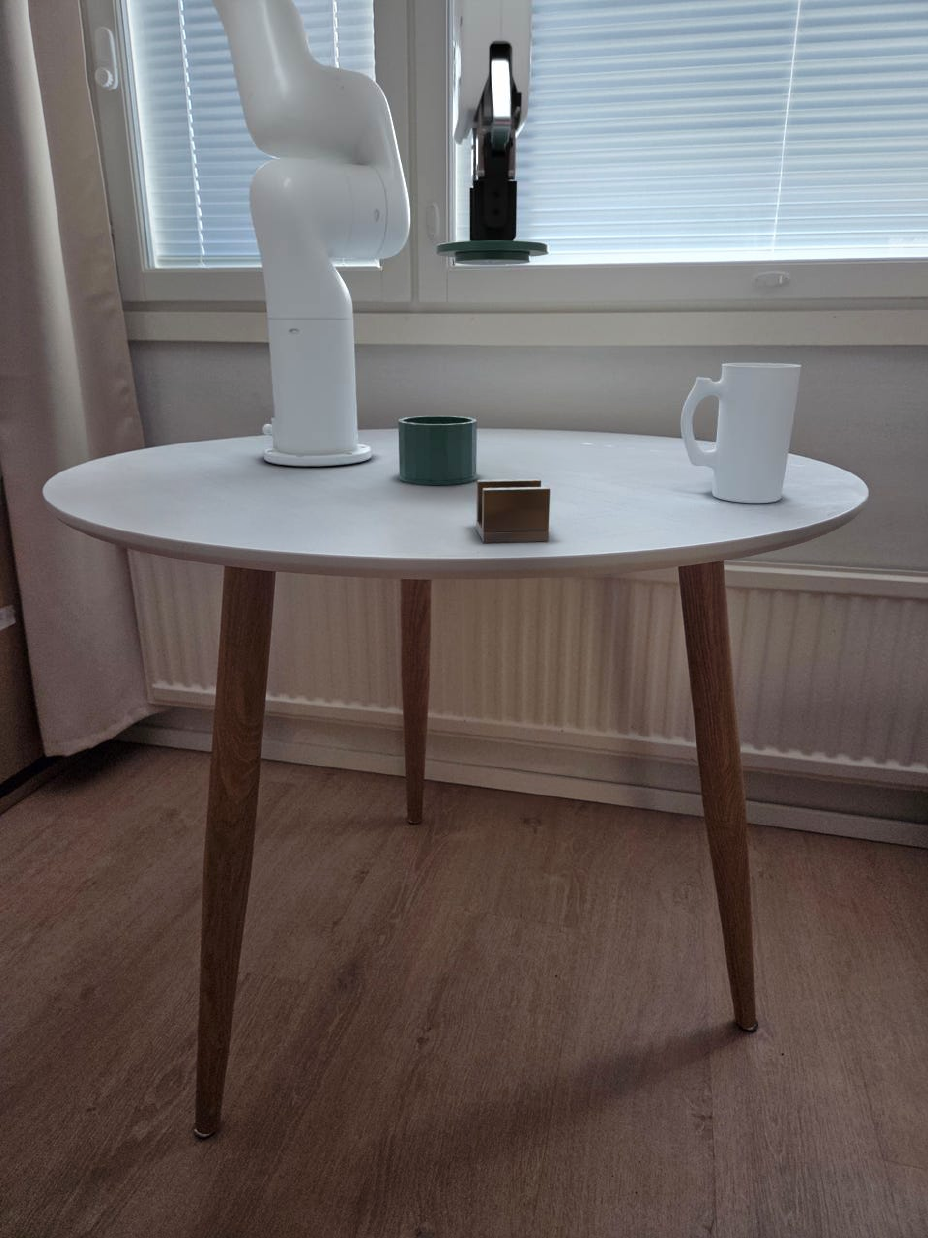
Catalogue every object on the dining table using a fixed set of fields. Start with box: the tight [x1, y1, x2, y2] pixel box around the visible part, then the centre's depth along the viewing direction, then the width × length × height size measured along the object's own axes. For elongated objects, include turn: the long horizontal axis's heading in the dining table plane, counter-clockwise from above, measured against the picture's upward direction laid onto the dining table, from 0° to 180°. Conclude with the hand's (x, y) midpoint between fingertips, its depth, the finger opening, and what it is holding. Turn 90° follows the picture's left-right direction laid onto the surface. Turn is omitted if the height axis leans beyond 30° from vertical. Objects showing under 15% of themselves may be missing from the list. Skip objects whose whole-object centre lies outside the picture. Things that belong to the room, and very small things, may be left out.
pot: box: [397, 415, 478, 486], centre depth 88 cm, size 8×8×6 cm
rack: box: [475, 478, 551, 544], centre depth 65 cm, size 5×4×4 cm
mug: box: [680, 362, 802, 504], centre depth 78 cm, size 10×7×12 cm, turn 84°
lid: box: [435, 165, 550, 266], centre depth 64 cm, size 9×9×7 cm
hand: (492, 240), depth 64 cm, fingers closed on lid, 2 cm apart
